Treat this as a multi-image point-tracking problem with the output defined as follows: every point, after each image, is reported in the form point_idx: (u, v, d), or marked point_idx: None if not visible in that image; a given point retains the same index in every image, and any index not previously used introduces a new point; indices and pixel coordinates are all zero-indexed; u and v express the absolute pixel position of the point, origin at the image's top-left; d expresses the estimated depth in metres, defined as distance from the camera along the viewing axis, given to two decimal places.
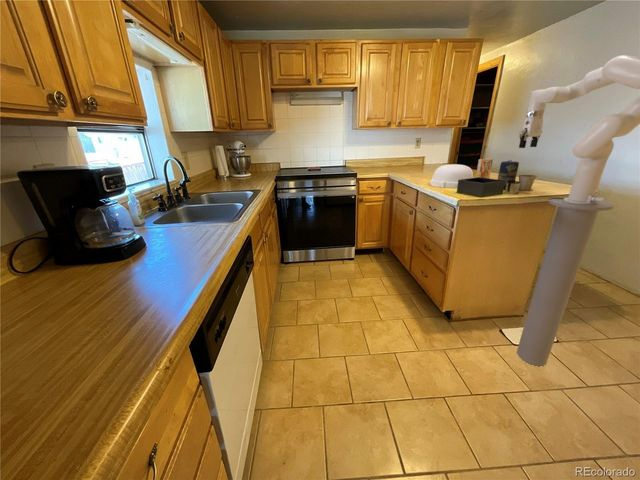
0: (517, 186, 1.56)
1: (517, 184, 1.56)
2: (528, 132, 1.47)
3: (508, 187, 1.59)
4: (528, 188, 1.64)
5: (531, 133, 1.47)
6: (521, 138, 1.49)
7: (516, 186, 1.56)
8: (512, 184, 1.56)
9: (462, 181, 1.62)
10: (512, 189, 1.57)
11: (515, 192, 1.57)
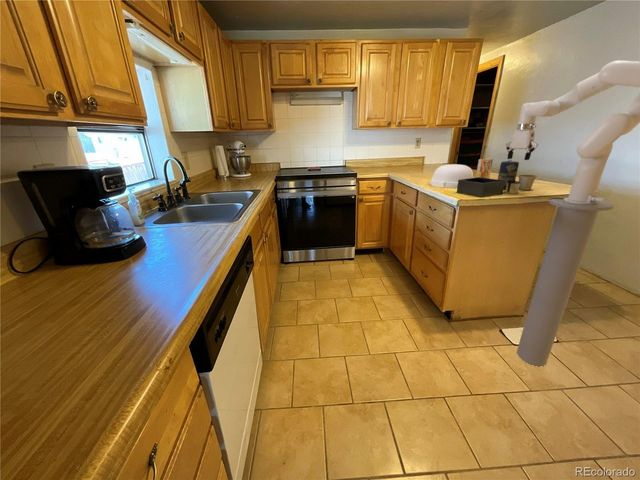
0: (517, 186, 1.56)
1: (517, 184, 1.56)
2: None
3: (508, 187, 1.59)
4: (528, 188, 1.64)
5: None
6: (532, 150, 1.46)
7: (516, 186, 1.56)
8: (512, 184, 1.56)
9: (462, 181, 1.62)
10: (512, 189, 1.57)
11: (515, 192, 1.57)
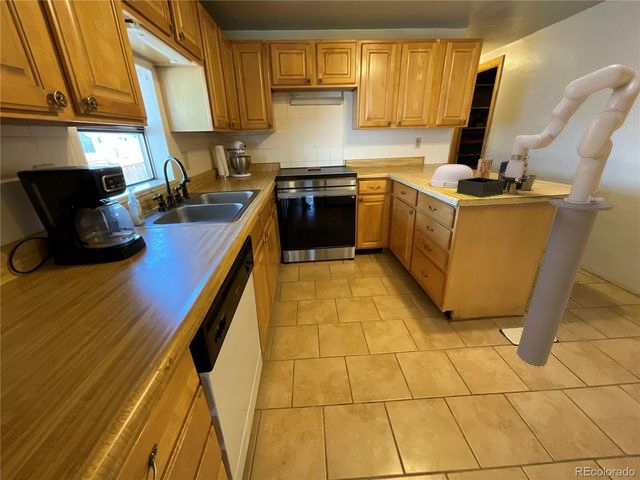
0: None
1: None
2: None
3: (508, 187, 1.59)
4: (528, 188, 1.64)
5: None
6: (524, 181, 1.53)
7: (516, 186, 1.56)
8: (512, 184, 1.56)
9: (462, 181, 1.62)
10: (512, 189, 1.57)
11: (515, 192, 1.57)
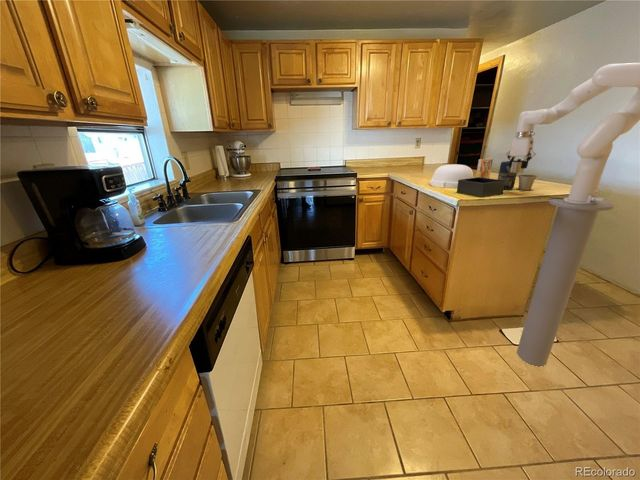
0: None
1: (522, 162, 1.51)
2: None
3: (513, 166, 1.54)
4: (528, 188, 1.64)
5: None
6: None
7: None
8: (517, 163, 1.52)
9: (462, 181, 1.62)
10: (517, 168, 1.52)
11: (521, 171, 1.53)
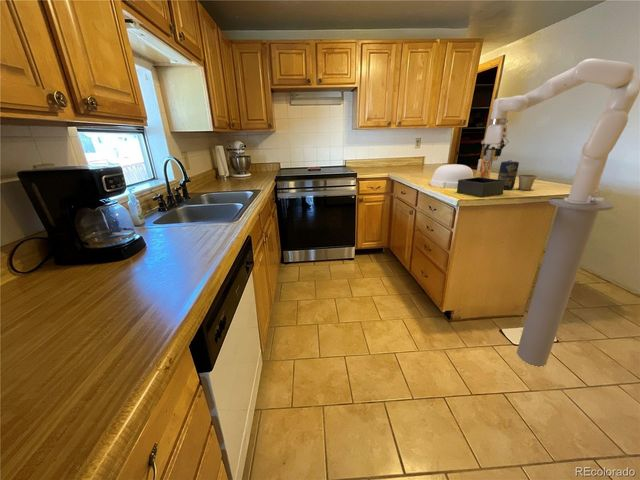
0: None
1: (496, 150, 1.51)
2: (505, 139, 1.48)
3: (487, 154, 1.54)
4: (528, 188, 1.64)
5: None
6: (503, 146, 1.48)
7: None
8: (491, 150, 1.51)
9: (462, 181, 1.62)
10: (491, 156, 1.52)
11: (494, 159, 1.52)
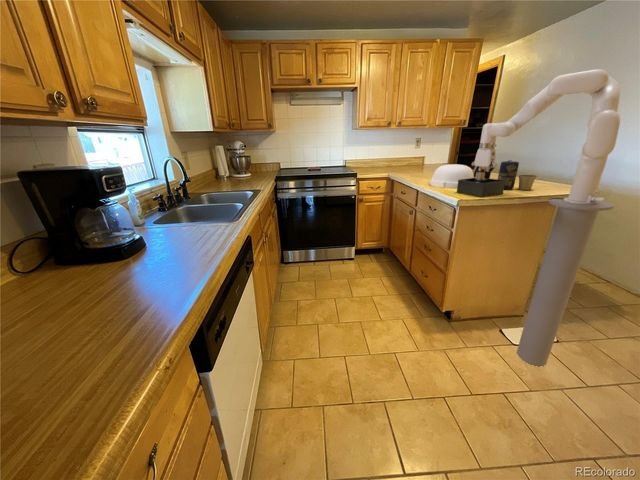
0: None
1: (485, 173, 1.56)
2: None
3: (477, 176, 1.59)
4: (528, 188, 1.64)
5: None
6: (492, 169, 1.53)
7: None
8: (481, 173, 1.56)
9: (462, 181, 1.62)
10: (481, 178, 1.57)
11: (484, 181, 1.57)
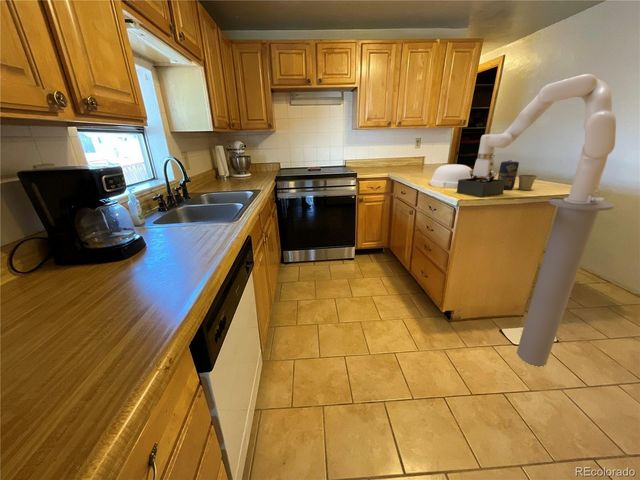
0: None
1: None
2: None
3: None
4: (528, 188, 1.64)
5: None
6: (492, 178, 1.54)
7: None
8: None
9: (462, 181, 1.62)
10: None
11: None
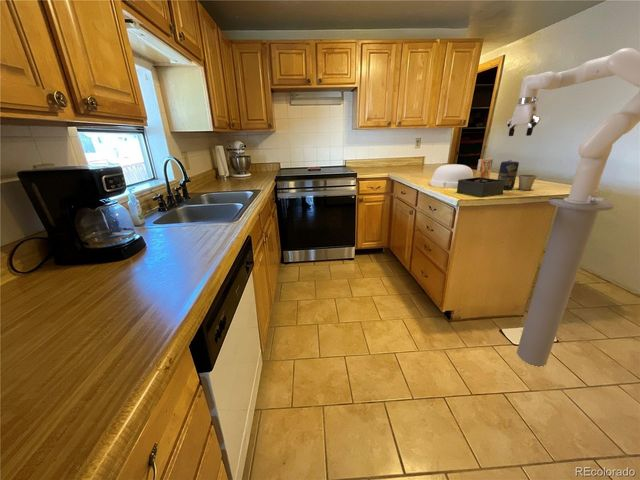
0: None
1: None
2: None
3: None
4: (528, 188, 1.64)
5: None
6: (535, 125, 1.41)
7: None
8: None
9: (462, 181, 1.62)
10: None
11: None
